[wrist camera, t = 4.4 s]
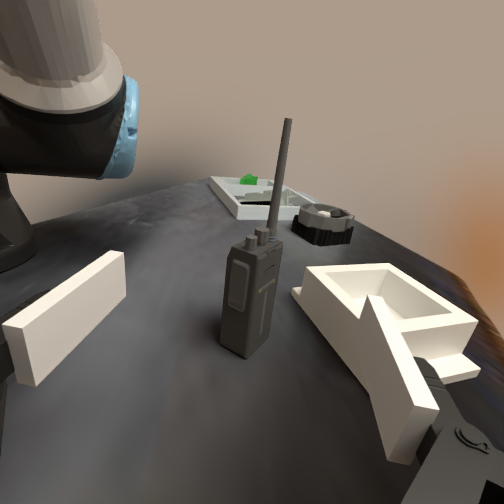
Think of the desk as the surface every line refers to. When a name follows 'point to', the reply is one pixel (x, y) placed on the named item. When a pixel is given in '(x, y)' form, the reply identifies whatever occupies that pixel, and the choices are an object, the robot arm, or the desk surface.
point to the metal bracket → (268, 197)
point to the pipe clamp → (248, 180)
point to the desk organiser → (232, 187)
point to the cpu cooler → (323, 224)
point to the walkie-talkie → (254, 275)
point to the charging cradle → (401, 308)
